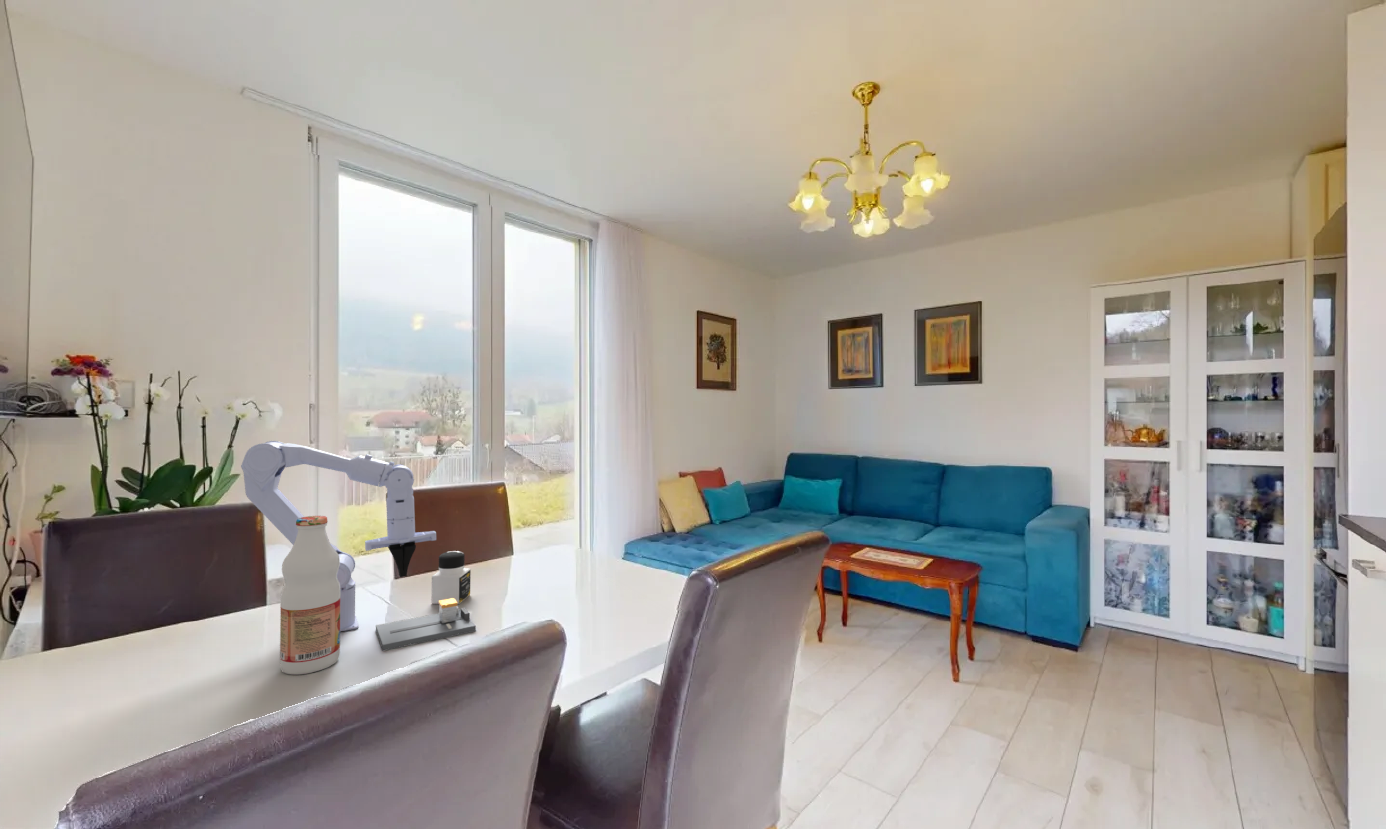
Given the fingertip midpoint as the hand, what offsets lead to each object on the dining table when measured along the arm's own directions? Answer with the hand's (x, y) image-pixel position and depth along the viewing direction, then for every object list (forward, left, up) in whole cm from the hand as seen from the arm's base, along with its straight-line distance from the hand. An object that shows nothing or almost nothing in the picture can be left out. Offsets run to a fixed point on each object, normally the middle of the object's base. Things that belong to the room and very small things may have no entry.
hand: (402, 575), depth 129 cm
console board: (+3, -11, -10) cm, 15 cm away
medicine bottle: (+12, +7, -10) cm, 17 cm away
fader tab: (+8, -11, -8) cm, 16 cm away
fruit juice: (-18, -16, -10) cm, 26 cm away
